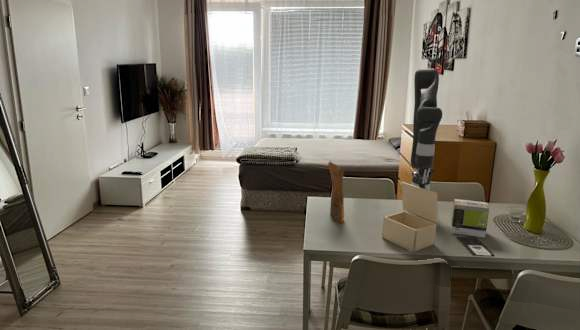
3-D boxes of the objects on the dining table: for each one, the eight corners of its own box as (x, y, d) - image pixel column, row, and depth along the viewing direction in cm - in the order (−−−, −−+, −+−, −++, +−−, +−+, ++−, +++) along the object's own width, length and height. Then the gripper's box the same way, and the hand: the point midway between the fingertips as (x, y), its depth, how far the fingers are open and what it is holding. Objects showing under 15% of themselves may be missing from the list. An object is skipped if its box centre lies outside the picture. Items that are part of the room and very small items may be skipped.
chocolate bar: (476, 237, 198) (494, 254, 180) (475, 239, 198) (494, 256, 180) (456, 236, 197) (473, 254, 180) (456, 238, 198) (472, 256, 180)
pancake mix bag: (333, 224, 208) (336, 169, 201) (324, 210, 226) (327, 159, 219) (346, 224, 209) (350, 169, 202) (337, 210, 227) (340, 159, 220)
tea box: (483, 230, 207) (487, 201, 203) (485, 238, 197) (490, 208, 194) (450, 226, 211) (454, 197, 207) (450, 233, 202) (454, 204, 198)
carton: (401, 230, 203) (403, 211, 201) (434, 244, 189) (436, 223, 187) (381, 237, 195) (383, 217, 193) (413, 252, 181) (416, 230, 179)
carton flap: (403, 209, 201) (404, 209, 201) (436, 222, 186) (437, 222, 186) (401, 182, 195) (402, 181, 196) (436, 193, 181) (437, 192, 181)
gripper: (427, 149, 192) (423, 186, 197) (408, 153, 184) (404, 191, 189) (441, 152, 186) (437, 190, 191) (422, 156, 179) (418, 196, 183)
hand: (421, 190), depth 190 cm, fingers closed
